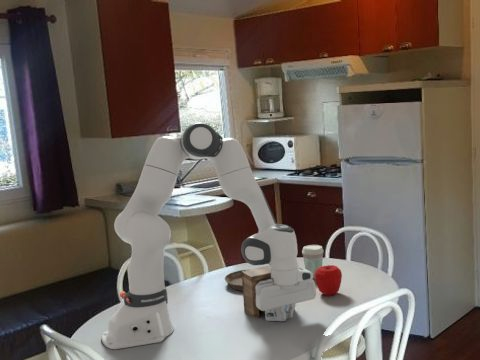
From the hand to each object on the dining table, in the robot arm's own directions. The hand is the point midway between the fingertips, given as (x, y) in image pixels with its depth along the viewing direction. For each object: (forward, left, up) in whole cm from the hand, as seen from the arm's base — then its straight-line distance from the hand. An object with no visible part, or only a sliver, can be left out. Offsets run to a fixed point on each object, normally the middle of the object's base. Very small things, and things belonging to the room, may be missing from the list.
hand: (287, 317), depth 184 cm
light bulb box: (0, +7, -2) cm, 7 cm away
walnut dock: (0, +14, -2) cm, 14 cm away
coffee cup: (+31, +35, -2) cm, 47 cm away
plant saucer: (+7, +42, -2) cm, 42 cm away
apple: (+25, +15, -2) cm, 29 cm away
